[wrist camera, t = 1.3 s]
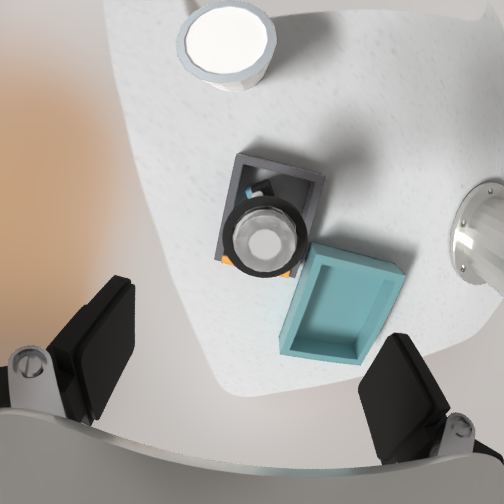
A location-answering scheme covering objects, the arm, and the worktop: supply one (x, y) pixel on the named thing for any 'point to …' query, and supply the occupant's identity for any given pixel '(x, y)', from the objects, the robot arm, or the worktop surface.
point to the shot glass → (227, 44)
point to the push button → (264, 234)
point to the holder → (242, 159)
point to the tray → (339, 305)
